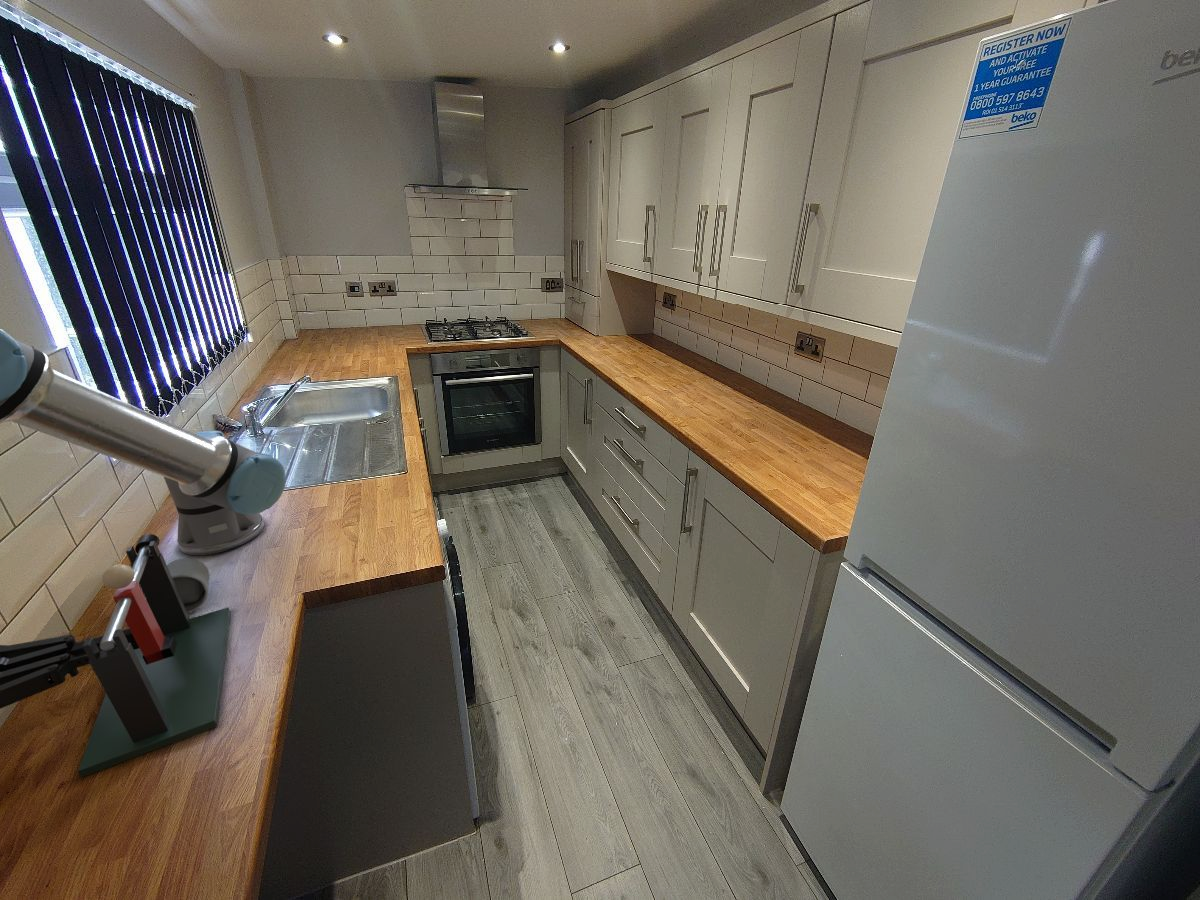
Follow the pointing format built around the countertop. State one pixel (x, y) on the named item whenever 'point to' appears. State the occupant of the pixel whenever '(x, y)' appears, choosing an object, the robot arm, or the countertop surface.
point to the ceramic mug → (190, 581)
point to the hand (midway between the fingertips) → (137, 637)
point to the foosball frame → (157, 677)
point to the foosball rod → (136, 607)
